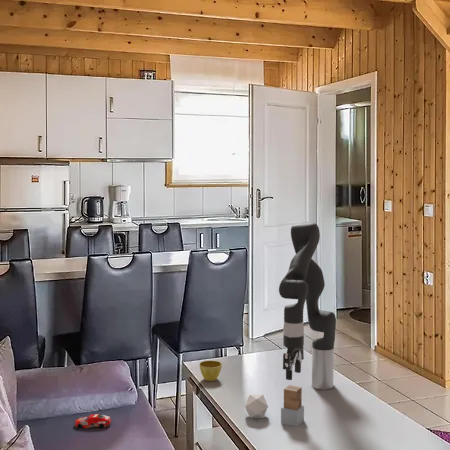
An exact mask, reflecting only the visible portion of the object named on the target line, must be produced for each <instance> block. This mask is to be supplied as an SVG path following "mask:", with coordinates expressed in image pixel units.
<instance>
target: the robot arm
mask: <svg viewBox="0 0 450 450" xmlns="http://www.w3.org/2000/svg"><path fill="white" fill-rule="evenodd" d="M320 234H321V233H320V227H319V225H318V224H317V223H313V222H309V223H308V222H306V223H296V224H293V225H292V226H291V228H290V237H291V242H292V247H293V249H294V253H295V255H293V257H292V258H291V261H290V264H289V268H288V271H287V272H286V274H285V275H284V277H283V278H282V280H281V281H280V283H279V286H278V293H279V296H280V297H281V298H283V299H287V300H297V302H296V303H292V304H287V305H285V306H284V310H283V327H282V328H283V330H282V331H283V334H282V336H283V338H282V339H283V343H282V344H283V346H284V348H287V351H286V352H283V356H282V370H285V379H286V380H287V381H292V380H293V367H294V372H295V373H297V374H300V373H302V362H303V360H304V356H305V354H304V346H305V344H304V343H305V342H304V341H305V326H304V308H305V307H304V306H305V303H306V311H307V312H306V313H307V321H308V326H309V328H310V329H311V330H312V331H313V332H318V333H323V336H322V337H319V338H315V339H313V341H312V347H311V349H312V352H311V353H312V354H311V355H312V356H311V387H312V388H314V389H316V390H324V391H325V390H332V389H333V388H334V370H335V369H334V361H335V359H334V358H335V357H334V356H335V355H334V354H335V351H334V350H335V340H336V328H337V327H336V326H337V318H336V317H337V316H336V314H335V312H332V311H327V310H321V309H319V304H318V302H319V299H320V297H321V295H322V293H323V292H324V289H325V284H326V283H325V278H324V274H323V270H322V268H321V267H320V265H318V263H317V262H316V261H315V260H314V259H313V256H314V253H315V252H316V250H317V247H318V245H319V242H320V240H321V239H320V237H321V235H320Z"/></svg>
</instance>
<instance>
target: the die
mask: <svg viewBox="0 0 450 450" xmlns="http://www.w3.org/2000/svg"><path fill="white" fill-rule="evenodd" d="M268 407H269V405H268V403H267V400H266V398H265V395H264V394H249V395H248V397H247V400H246V403H245V405H244V408H245V410H246V413H247V415H248V417H249V419H264V418H265V415H266V413H267V409H268Z"/></svg>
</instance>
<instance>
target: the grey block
mask: <svg viewBox="0 0 450 450" xmlns="http://www.w3.org/2000/svg"><path fill="white" fill-rule="evenodd" d="M304 421H305V404H302V405H301V406H300V407H299V408H298V409H297V410H293V409H289V408H284V405H282V406H281V407H280V424H283V425H286V426H287V425H288V426H292V427H295V428H297V427H298V426H299V425H301V424H302V423H303V422H304Z"/></svg>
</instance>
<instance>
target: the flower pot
mask: <svg viewBox="0 0 450 450" xmlns="http://www.w3.org/2000/svg"><path fill="white" fill-rule="evenodd" d="M222 365H223V364H222V362H221V361H218V360H203V361H201V362H199V370H200V373H201V375H202V378H203V379H204V380H205V381H207V382H214V380H215V381H216V380H217V379H218V377H219V375H220V374H221V370H222V367H223V366H222Z"/></svg>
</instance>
